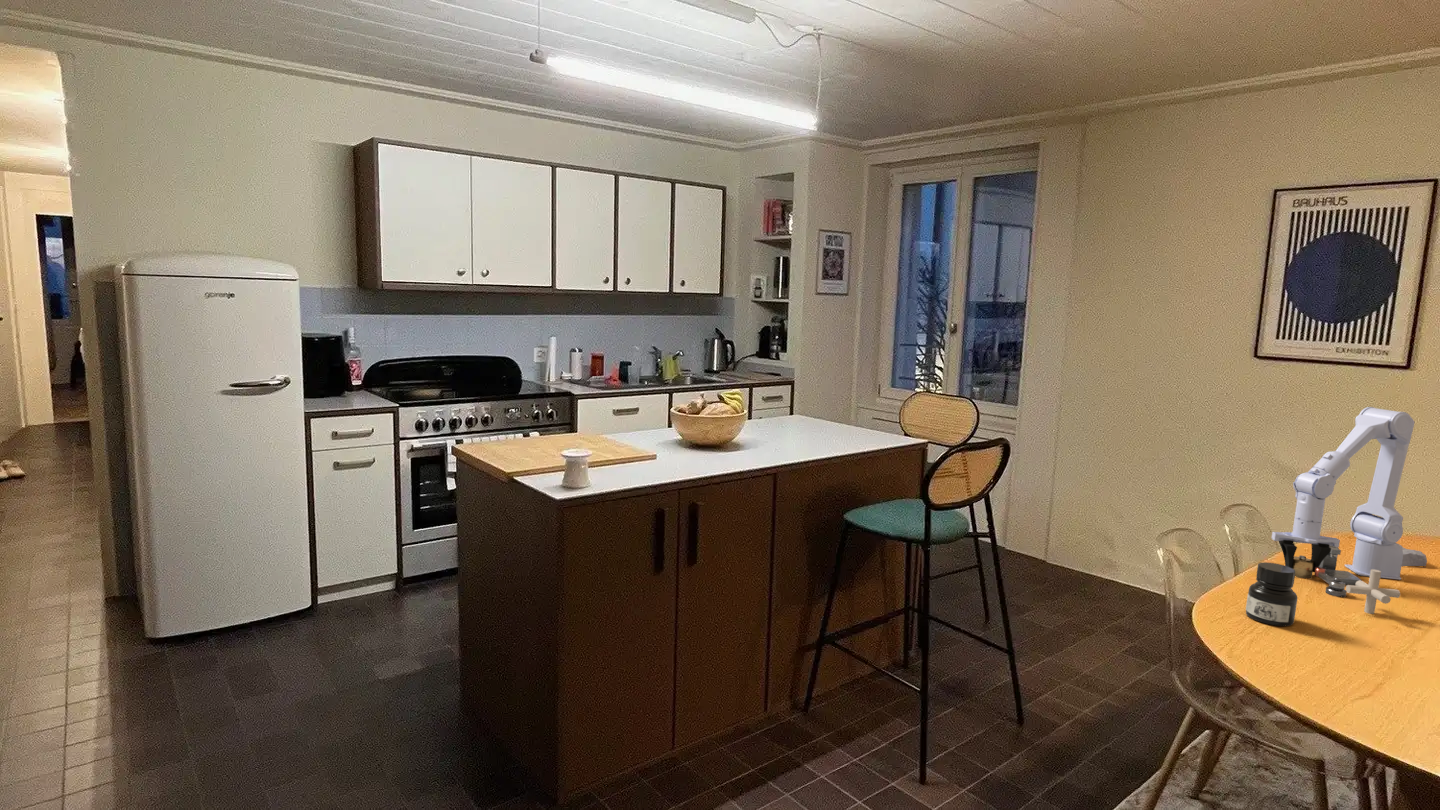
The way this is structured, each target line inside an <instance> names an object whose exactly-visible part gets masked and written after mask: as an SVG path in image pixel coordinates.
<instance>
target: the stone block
mask: <svg viewBox="0 0 1440 810" xmlns="http://www.w3.org/2000/svg"><path fill="white" fill-rule="evenodd" d="M1399 545H1400V546H1401V547H1402V550H1403V560H1402V566H1401V567H1403V566H1425V567H1426V566H1427V563H1428V560H1427V558H1428V557H1427V555H1426V554H1425V553H1423V552H1422V551H1421V550H1416V549H1408V548H1405V547H1403V546H1402V545H1401V544H1399Z"/></svg>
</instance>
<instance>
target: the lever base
mask: <svg viewBox="0 0 1440 810" xmlns="http://www.w3.org/2000/svg"><path fill="white" fill-rule="evenodd" d="M1334 581H1336V582H1342V578H1338V577H1334ZM1324 591H1325V593H1326V594H1327V595H1329V596H1332V597H1337V598H1346V597H1347V591H1346V589H1344V590H1343V591H1340V590H1335V589H1331V588H1329V585H1328V586H1326V587H1325V590H1324Z"/></svg>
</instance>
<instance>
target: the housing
mask: <svg viewBox="0 0 1440 810" xmlns="http://www.w3.org/2000/svg"><path fill="white" fill-rule="evenodd" d="M1313 566H1314V561H1313V560H1311V558H1307V557H1306V556H1305V555H1299V556H1295V555H1294V559H1293V567H1292V569H1294V570H1295V576H1296V577H1295V578H1300V579H1306V578H1307V580H1308V579H1309V580H1310V579H1312V577H1313V573H1314V572H1313Z"/></svg>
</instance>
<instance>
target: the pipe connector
mask: <svg viewBox="0 0 1440 810" xmlns="http://www.w3.org/2000/svg"><path fill="white" fill-rule="evenodd" d="M1380 575H1381V571H1379V570H1374V569H1371V572H1370V576H1369V578H1368V580H1369V581H1368V583H1366V582H1365V581H1363V580H1362V579H1361V580H1362V581H1361V580H1359V581H1357V582H1356V583H1355V584H1356V586H1354V585H1345V590H1346V591H1347V593H1348V594H1356V595H1365V596H1366V598H1365V604H1364V613H1366V614H1370V615H1374V614H1375V611H1376V604H1377V600H1378V601H1380V602H1381V603H1383V604H1386V605H1387V604H1389V603H1391V598H1397V599H1398V598H1400V596H1401V592H1400V590H1399V589H1393V588H1384V587H1383V588H1382V587H1380V582H1381V581H1380V580H1381V578H1380ZM1347 593H1346V594H1347Z"/></svg>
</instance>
